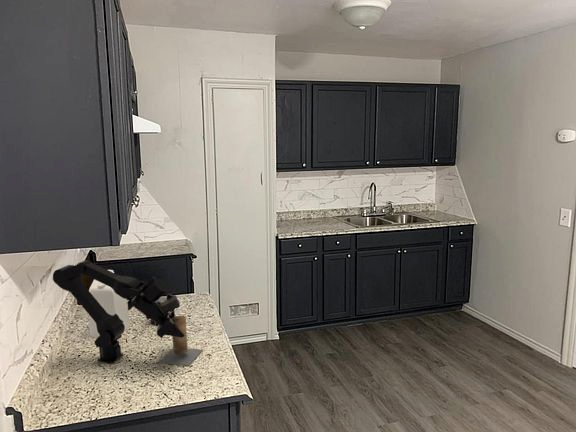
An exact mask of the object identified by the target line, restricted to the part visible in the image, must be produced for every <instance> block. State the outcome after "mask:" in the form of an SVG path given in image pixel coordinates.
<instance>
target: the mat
mask: <svg viewBox="0 0 576 432" xmlns="http://www.w3.org/2000/svg"><path fill="white" fill-rule="evenodd" d="M187 349H188V351H187V352H186V353H184V354H175V353H174V352H173V347H172V348H171V349H170V350H169V351H168V352H167V353H166V354H165V355H164V356H163V357H162V358H161V359H159V360H158V361H157V364H165V365H174V366H175V365H176V366H184V367H189V366H191V365H192V364H193V362H194V361H196V359H197V358H198V357H199V356H200V355H201V354H202V352H204V349H199V348H191V347H190V348H188V347H187Z"/></svg>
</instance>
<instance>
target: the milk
mask: <svg viewBox="0 0 576 432" xmlns="http://www.w3.org/2000/svg"><path fill="white" fill-rule="evenodd" d="M107 270H108V271H111V272H113V273H115V272H114V270H113V269H107ZM88 290H89V292H90V293H91V294H92V295H93V296H94V298H95V299H96V300H97V301H98V302H99V304H100V305H101V306H102V307H103V308H104V310H105V311H106V312H107V313H108V314H110V315H112V316H113V315H115V314H117V315H118V316H119V318H120V319H121V320H122V321H123V324H124V326H125V330H124V332H125V331H126V330H127V329H128V328H130V326H132V325H131V319H130V317H131V316H130V312H129V311H130V310H128V304H127V302H128V299H124V298H122V297H120V296H119V295H118V294H116V293H115V292H114V290H113V289H112V288H111V287H109V286H107V285H105V284H103V283H101V282H99V281H97V280H94V279H93V281H92V283H91V285H90V287H89V289H88ZM88 322H89V337H99V336H100V335H99V333H98V331H97V326H96V322H95V321H94V320H93V319H92V318H91V316H90V315H89V314H88Z"/></svg>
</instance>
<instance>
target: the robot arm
mask: <svg viewBox="0 0 576 432" xmlns="http://www.w3.org/2000/svg"><path fill="white" fill-rule="evenodd" d="M108 270H109V269H106V268H104V267H102V266H100V265H98V264H96V263H93V262H92V261H91V260H88V259H85V260H83V261H80V262H78V263H77V264H75V265H72V264H68V265H66V266H63V267H61V268H58V269H56V270H55V271H53V274H52V281H53V282H54V283H55V284H56V285H57V286H58V287H59V288H60V289H62V290H64V291H66V292H68V293H70V294H71V295H72V296H73V297H74V299H75V300H76V301H77V302H78V303H79V305H81V307H82V308H83V309H84V310H85V311H86V313H87V314H88V316H89V315H90V316H91V318H92V319H93V320H94V321H95V322H96V326H97V331H98V333H99V335H100V336H97V338H96V339H95V340H94V341H93V342H94V345H95V346H96V348H98V349H99V351H98V352H99V358H98V359H97V362H102V363H108V364H109V363H110V364H113V363H115V362H116V361H117V360H119V359H120V358H122V356H123V355H124V353H123V352H122V348H121V345H120V341H119V340H120V339H121V338H122V335H123V334H124V332H125V331H126V330H125V326H124V324H123V321H122V320H121V319H120V318H119V316H118V315H117V314H115V315H113V316H112V315H110V314H108V313H107V312H106V311H105V310H104V308H103V307H102V306H101V305H100V304H99V302H98V301H97V300H96V299H95V298H94V296H93V295H92V294H91V293H90V292H89V289H88V288H87V287H86V285H84V282H83V279H82V278H83V277H82V275H83V276H85V277H88V278H91V279H93V281H94V280H97V281H99V282H101V283H103V284H105V285H107V286H109V287H111V288H112V289H113V290H114V292H115V293H116V294H118V295H119V296H120V297H122V298H124V299H127V304H128V311H130V310H131V309H132V308H135V309H136V310H137V311H139V312H140V313H141V314H143V315H144V316H145V319H146V320H150V321H151V320H152V321H153V322H155V327H156V335H157V336H158V337H159V338H161V339H162V338H164V336H171V337H172V336H176V337H182V338H183V337H184V334H183V333H182V332H181V331H180V330H179V329H178V327H177V326H176V325H175V319H174V320H172V318H173V317H175V316H176V314H175V310H176V309H178V308H179V307H181V305H180V303H181V302H180V301H179V299H178V296H177V295H175V294H174V295H173V294H171V293H168V294H166V293H167V292H168V291H169V286H168V285H167V282H166V281H165V280H163V279H160V278H157V277H156V276H153V277H151V278H150V280H149V281H148V282H144V281H140V280H139V279H137V278H135V277H132V276H128V275H127V276H126V275H119V274H117V273H115V272H114V271H113V272H114V273H113V272H111V271H108ZM165 294H166V296H165V297H166V298H167V300H165V301H164V302H162V303H161V302H159V301H157V300H158V299H159V298H160V297H161V296H163V297H164V295H165ZM130 298H132V299H130ZM155 301H157V302H155ZM174 309H175V310H174ZM172 310H173V311H172ZM170 311H172V312H170ZM124 330H125V331H124Z"/></svg>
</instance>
